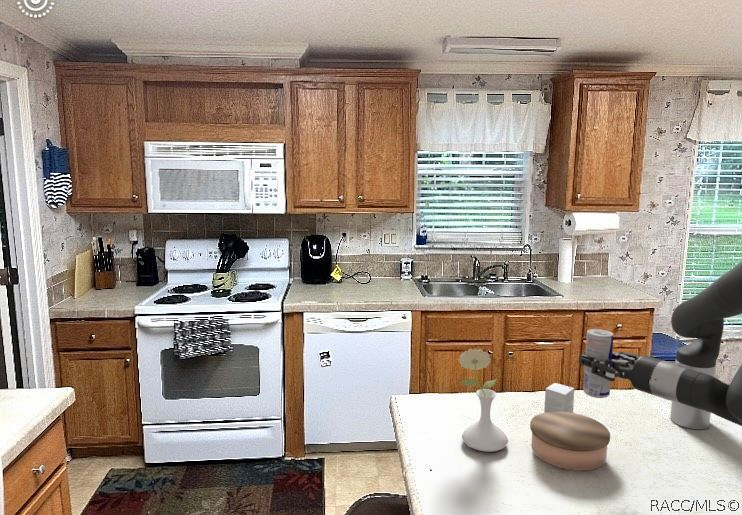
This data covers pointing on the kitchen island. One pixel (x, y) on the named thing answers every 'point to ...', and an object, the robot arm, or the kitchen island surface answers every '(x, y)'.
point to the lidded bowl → (569, 440)
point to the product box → (559, 398)
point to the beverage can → (599, 348)
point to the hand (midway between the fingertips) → (588, 356)
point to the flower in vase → (482, 407)
